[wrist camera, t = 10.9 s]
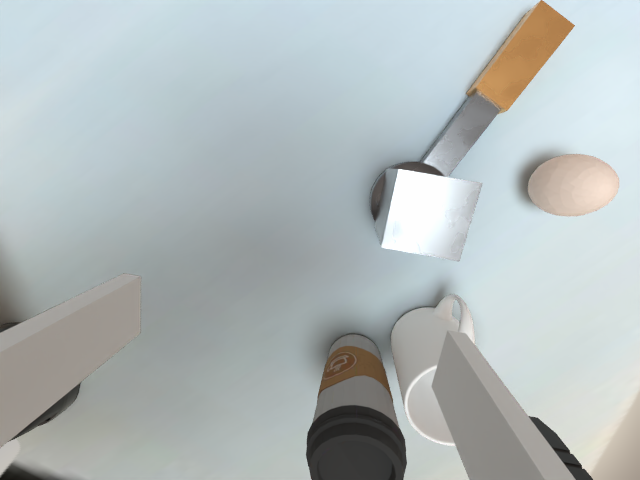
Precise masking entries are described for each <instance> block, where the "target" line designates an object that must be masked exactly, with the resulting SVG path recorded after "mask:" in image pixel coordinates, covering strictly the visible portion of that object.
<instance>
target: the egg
mask: <svg viewBox="0 0 640 480" xmlns="http://www.w3.org/2000/svg"><path fill="white" fill-rule="evenodd" d="M618 188H619V178H618V176H617V174H616V172H615V171H614V170H613V169H612V167H611V166H609V165H608V164H607V163H605V162H603V161H602V160H600V159H598V158H596V157H593V156H588V155H581V154H568V155H562V156H558V157H555V158H552V159H550V160H548V161H546V162H544V163H543V164H541V165H540V166H539V167H538V168H537V169H536V170H535V171H534V172H533V174H532V175H531V177H530V180H529V183H528V193H529V197H530V198H531V200H532V202H533V203H534V204H535V205H536V206H537V207H538V208H540V209H542V210H543V211H545V212H548V213H550V214H554V215H559V216H580V215H585V214H588V213H591V212H594V211H597V210H599V209H600V208H602V207H604V206H606V205H607V204H608V203H609V202H610V201H612V200H613V198H614V197H615V196H616V194H617V192H618Z"/></svg>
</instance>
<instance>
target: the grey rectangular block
mask: <svg viewBox="0 0 640 480" xmlns="http://www.w3.org/2000/svg"><path fill="white" fill-rule="evenodd" d="M481 186H482V183H480V182H474V181H467V180H461V179H455V178H449V177H443V176H437V175H431V174H425V173H419V172H413V171H407V170H401V169H389V168H387V169H386V173H385V178H384V183H383V187H382V192H381V197H380V202H379V206H378V211H377V216H376V221H375V225H374V228H375V231H376V234H377V236H378V239H379V242H380V245H381V247H382V248H388V249H393V250H399V251H404V252H410V253H415V254H421V255H426V256H432V257H437V258H443V259H448V260H454V261H460V258H461V254H462V251H463V247H464V244H465V241H466V237H467V234H468V230H469V227H470V224H471V220H472V217H473V214H474V210H475V207H476V203H477V200H478V197H479V193H480V190H481Z"/></svg>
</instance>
